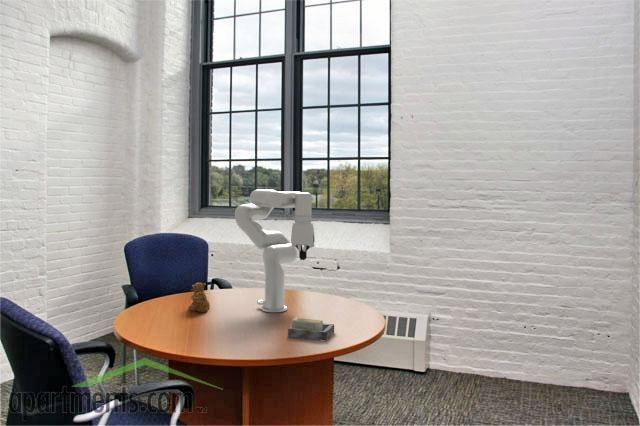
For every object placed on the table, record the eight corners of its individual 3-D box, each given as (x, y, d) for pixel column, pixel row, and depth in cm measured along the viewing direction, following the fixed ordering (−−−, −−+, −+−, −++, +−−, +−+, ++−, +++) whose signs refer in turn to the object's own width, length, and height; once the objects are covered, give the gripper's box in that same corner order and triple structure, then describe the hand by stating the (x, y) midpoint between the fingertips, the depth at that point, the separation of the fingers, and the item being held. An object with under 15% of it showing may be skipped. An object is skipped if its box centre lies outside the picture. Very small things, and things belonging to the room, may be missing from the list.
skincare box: (295, 331, 217) (322, 335, 213) (291, 334, 213) (319, 338, 209) (296, 316, 217) (323, 320, 212) (291, 318, 213) (319, 322, 208)
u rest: (287, 336, 210) (287, 328, 209) (298, 328, 221) (298, 320, 221) (325, 341, 205) (325, 332, 205) (334, 332, 216) (334, 324, 216)
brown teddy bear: (208, 306, 259) (208, 280, 258) (213, 312, 246) (213, 285, 245) (187, 307, 255) (187, 281, 255) (192, 314, 242) (192, 287, 242)
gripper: (284, 219, 234) (284, 260, 235) (316, 220, 230) (315, 261, 231) (290, 218, 241) (290, 257, 242) (321, 219, 237) (320, 259, 238)
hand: (302, 259), depth 237 cm, fingers closed
